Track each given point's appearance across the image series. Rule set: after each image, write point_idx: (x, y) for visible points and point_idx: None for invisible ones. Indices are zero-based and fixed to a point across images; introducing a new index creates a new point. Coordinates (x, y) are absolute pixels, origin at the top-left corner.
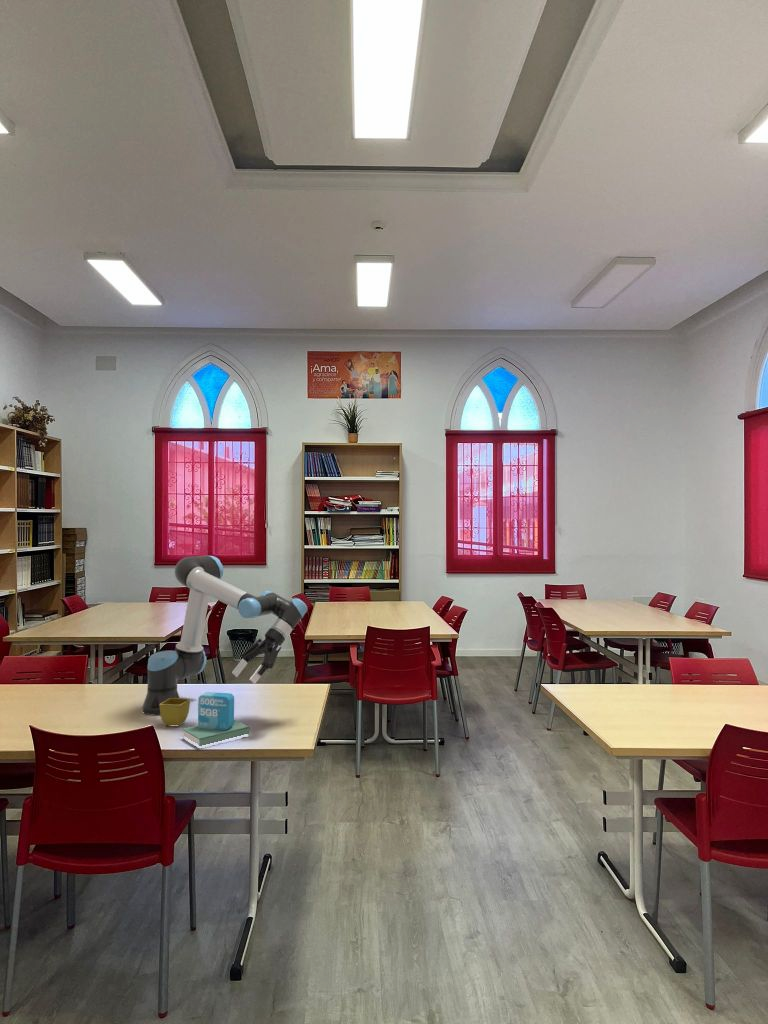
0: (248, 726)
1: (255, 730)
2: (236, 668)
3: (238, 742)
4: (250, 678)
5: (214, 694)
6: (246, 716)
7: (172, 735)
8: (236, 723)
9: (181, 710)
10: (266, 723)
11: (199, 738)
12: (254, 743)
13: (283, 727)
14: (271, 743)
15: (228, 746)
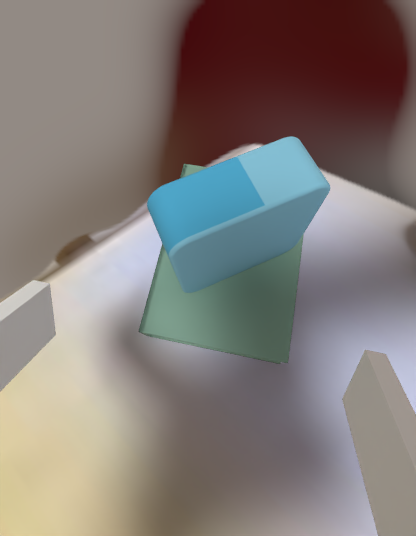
0: (144, 332)
1: (178, 399)
2: (380, 398)
3: (138, 280)
4: (37, 287)
5: (243, 176)
6: (355, 516)
7: (352, 201)
8: (209, 328)
9: None
10: (207, 497)
11: (187, 164)
12: (88, 304)
13: (110, 504)
14: None
15: (138, 241)
